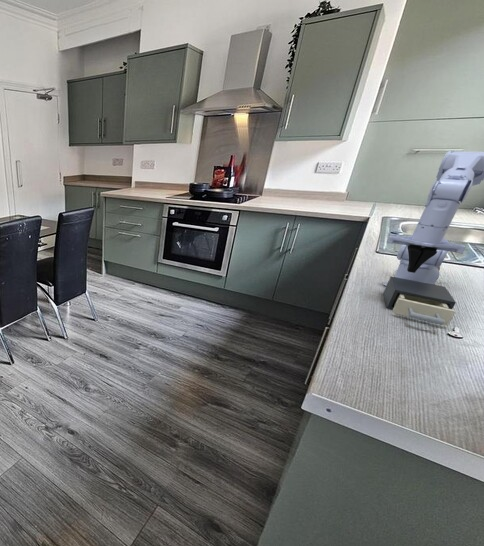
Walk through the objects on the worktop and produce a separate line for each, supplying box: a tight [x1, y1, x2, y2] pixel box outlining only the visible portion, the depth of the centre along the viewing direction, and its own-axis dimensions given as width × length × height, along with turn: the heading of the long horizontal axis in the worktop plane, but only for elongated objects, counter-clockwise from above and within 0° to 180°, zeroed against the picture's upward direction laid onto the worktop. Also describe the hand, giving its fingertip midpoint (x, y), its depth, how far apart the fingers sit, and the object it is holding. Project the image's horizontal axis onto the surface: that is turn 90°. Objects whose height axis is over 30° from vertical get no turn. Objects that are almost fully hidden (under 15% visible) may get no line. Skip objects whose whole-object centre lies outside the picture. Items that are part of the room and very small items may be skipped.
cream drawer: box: [391, 293, 456, 327], centre depth 84 cm, size 17×10×4 cm, turn 141°
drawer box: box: [382, 276, 457, 310], centre depth 90 cm, size 13×12×6 cm
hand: (410, 271), depth 89 cm, fingers closed
